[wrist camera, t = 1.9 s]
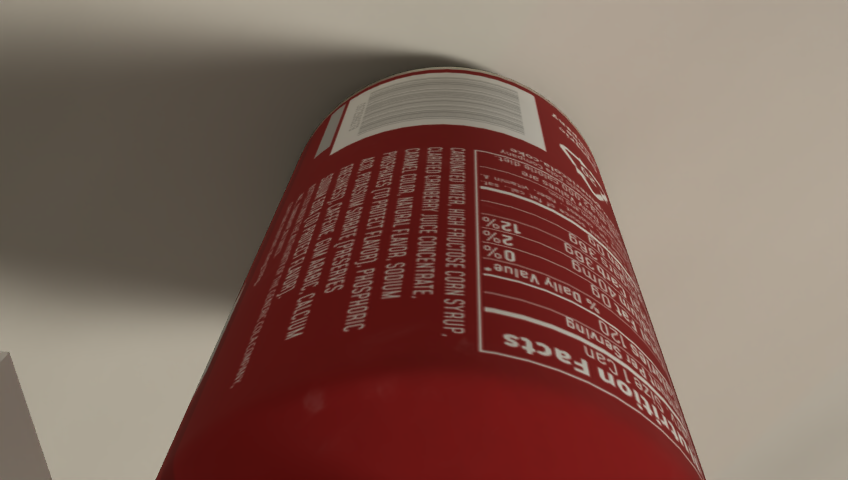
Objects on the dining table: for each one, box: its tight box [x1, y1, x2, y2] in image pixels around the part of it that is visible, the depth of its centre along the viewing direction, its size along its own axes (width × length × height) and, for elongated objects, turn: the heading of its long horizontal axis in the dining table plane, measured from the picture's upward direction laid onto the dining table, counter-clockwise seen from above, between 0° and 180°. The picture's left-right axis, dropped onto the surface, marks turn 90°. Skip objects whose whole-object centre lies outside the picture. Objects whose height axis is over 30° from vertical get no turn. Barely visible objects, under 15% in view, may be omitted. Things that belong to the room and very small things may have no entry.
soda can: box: [156, 67, 706, 480], centre depth 13 cm, size 7×7×12 cm
